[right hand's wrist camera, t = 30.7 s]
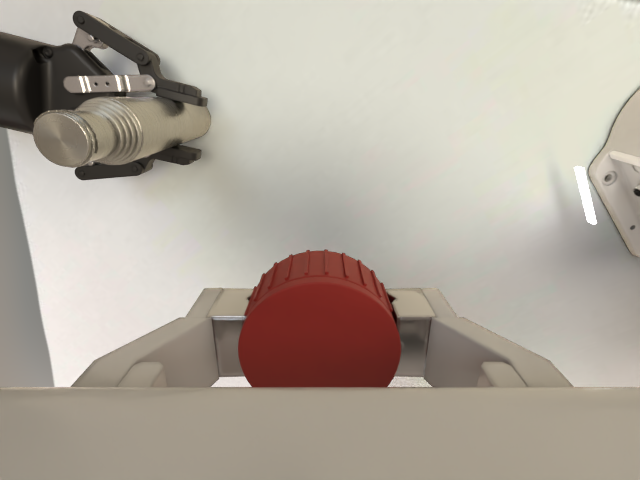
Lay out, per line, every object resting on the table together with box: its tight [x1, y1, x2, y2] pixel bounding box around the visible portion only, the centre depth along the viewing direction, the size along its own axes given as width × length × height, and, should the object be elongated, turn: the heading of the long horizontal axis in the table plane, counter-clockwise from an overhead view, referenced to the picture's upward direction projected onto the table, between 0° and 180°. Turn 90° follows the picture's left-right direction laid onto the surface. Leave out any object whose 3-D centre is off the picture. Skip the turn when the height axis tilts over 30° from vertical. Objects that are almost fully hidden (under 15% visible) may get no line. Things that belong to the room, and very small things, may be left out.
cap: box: [238, 250, 401, 387], centre depth 9 cm, size 4×4×2 cm
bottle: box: [33, 97, 211, 168], centre depth 27 cm, size 4×4×21 cm
